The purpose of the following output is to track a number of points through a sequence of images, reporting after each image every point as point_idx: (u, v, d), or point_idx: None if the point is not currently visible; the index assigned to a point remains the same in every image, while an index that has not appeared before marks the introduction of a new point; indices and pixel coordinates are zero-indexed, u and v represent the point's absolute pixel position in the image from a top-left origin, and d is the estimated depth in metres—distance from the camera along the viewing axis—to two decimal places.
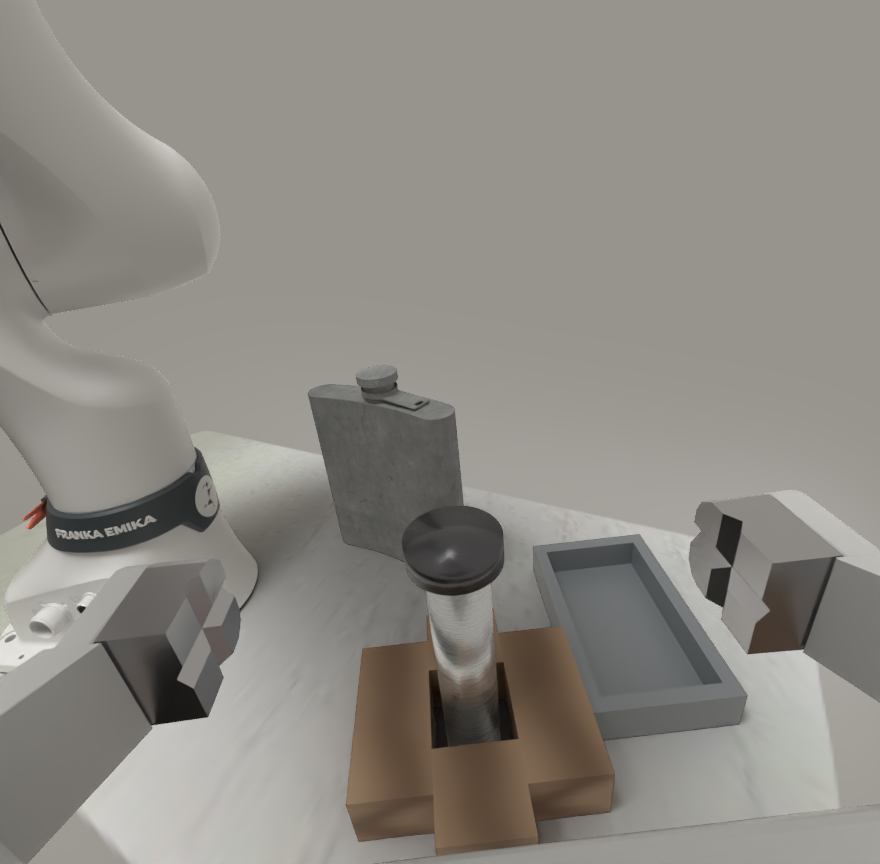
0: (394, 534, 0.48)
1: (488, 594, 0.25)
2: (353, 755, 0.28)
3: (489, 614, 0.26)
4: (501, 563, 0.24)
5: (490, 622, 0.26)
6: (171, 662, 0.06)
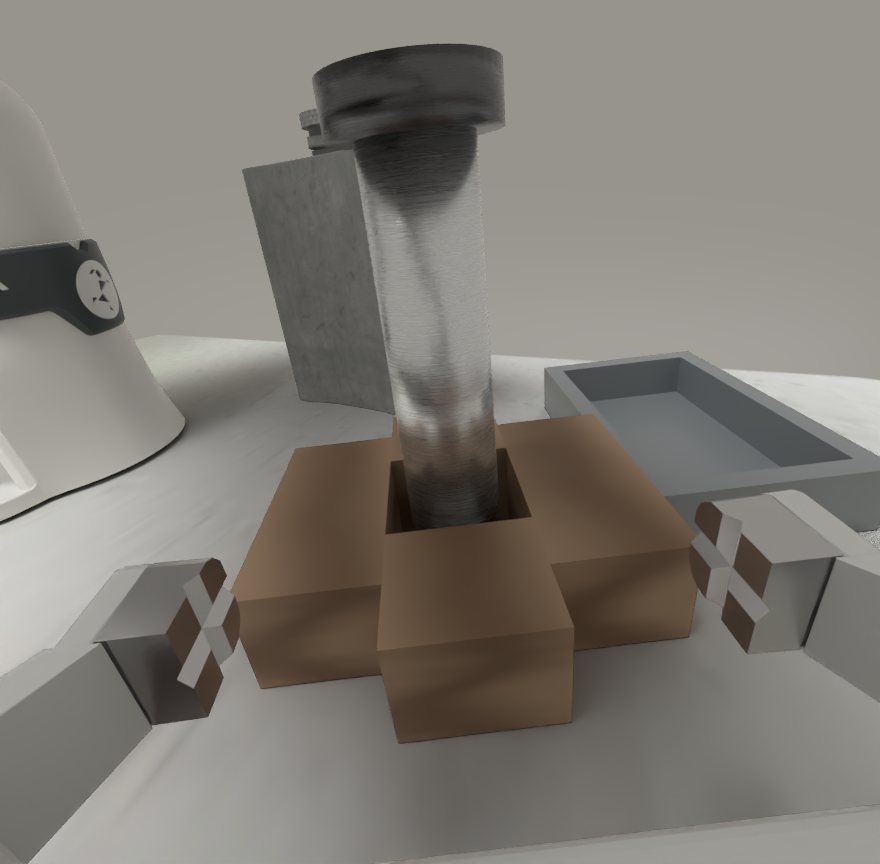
0: (360, 369, 0.36)
1: (477, 205, 0.14)
2: (254, 547, 0.17)
3: (479, 257, 0.14)
4: (500, 104, 0.13)
5: (481, 280, 0.15)
6: (172, 662, 0.06)
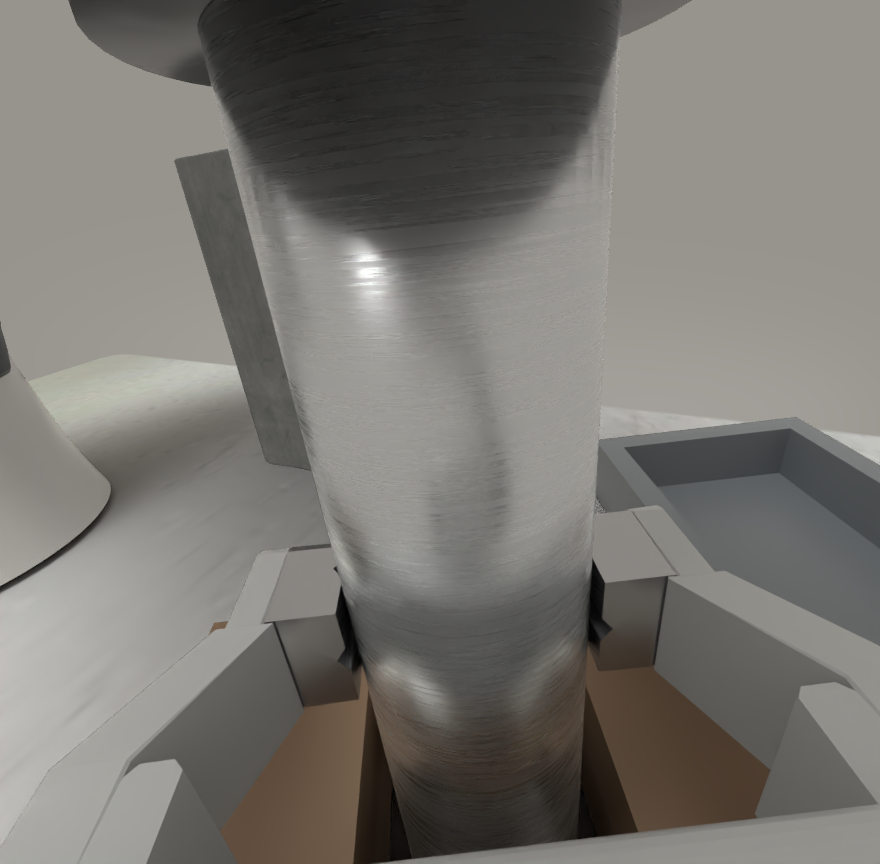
0: None
1: (606, 248, 0.04)
2: None
3: (598, 394, 0.05)
4: None
5: (596, 447, 0.05)
6: (336, 643, 0.06)
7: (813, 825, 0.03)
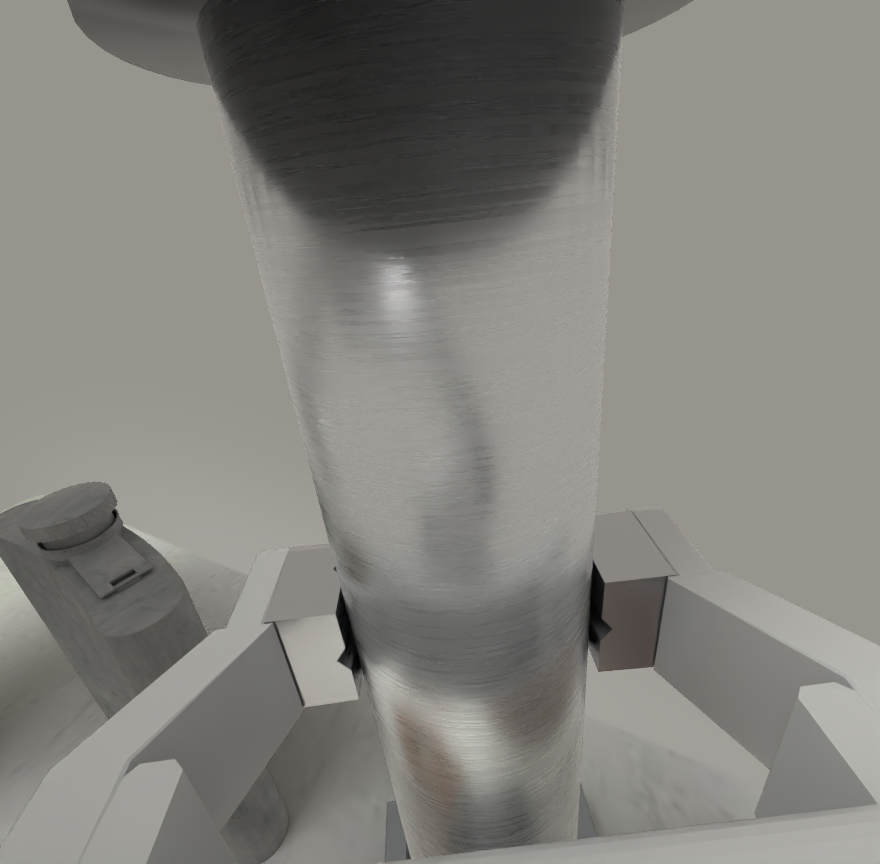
0: None
1: (608, 249, 0.04)
2: None
3: (599, 395, 0.05)
4: None
5: (597, 449, 0.05)
6: (336, 642, 0.06)
7: (813, 825, 0.03)
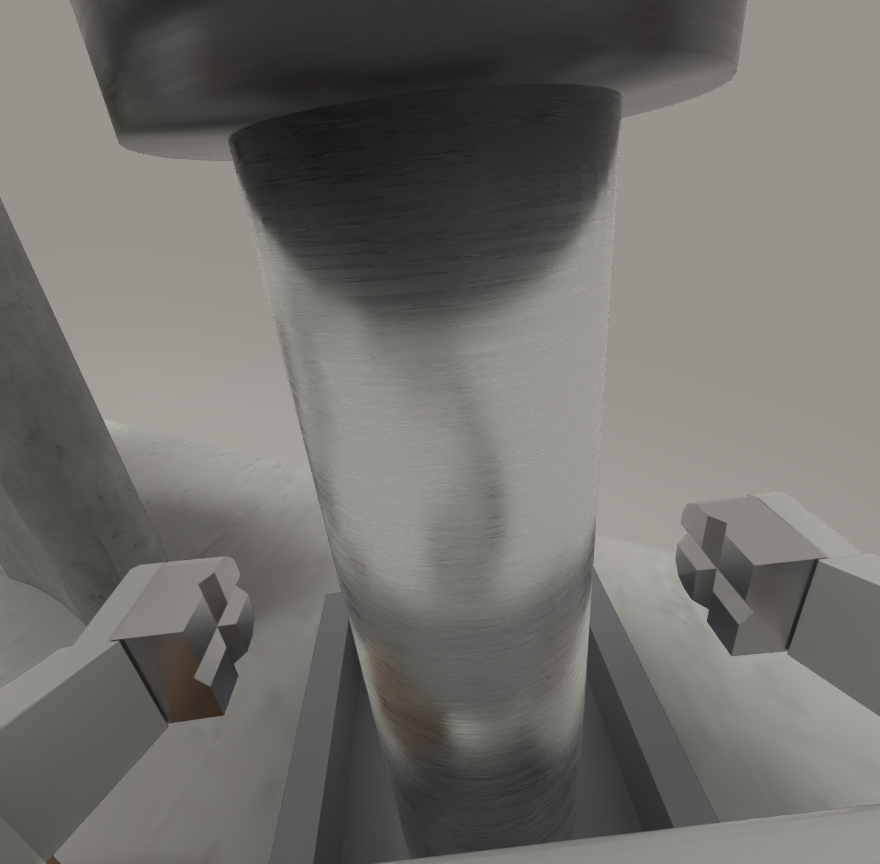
0: (42, 561, 0.21)
1: (605, 331, 0.05)
2: None
3: (596, 459, 0.05)
4: None
5: (594, 505, 0.06)
6: (189, 659, 0.06)
7: (813, 825, 0.03)
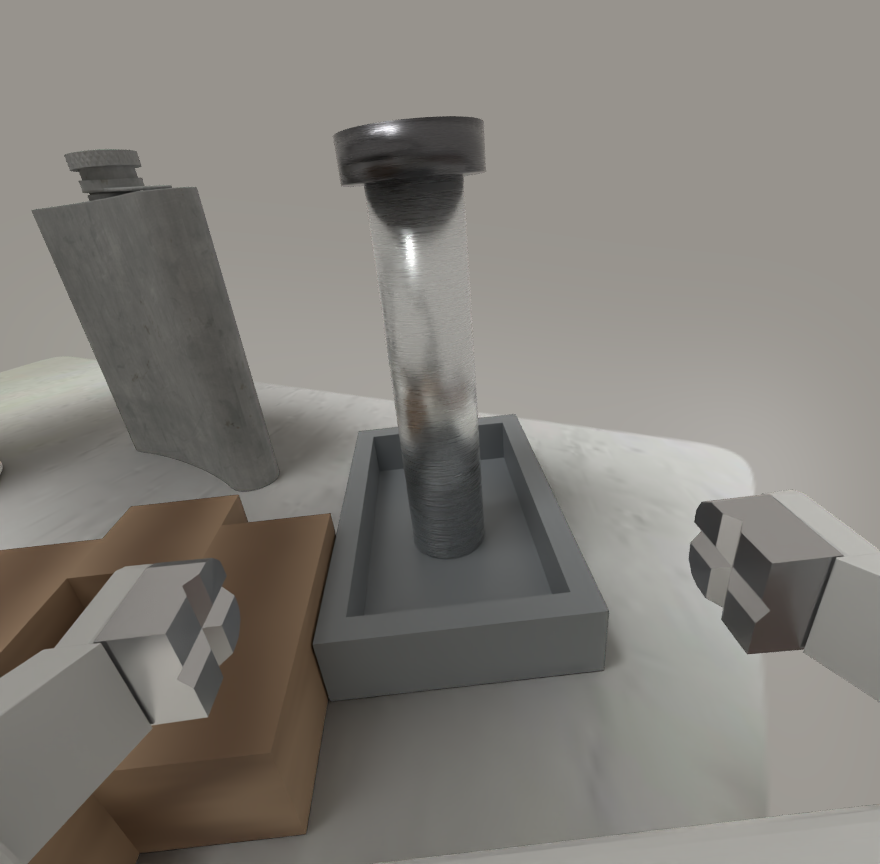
0: (177, 425, 0.33)
1: (462, 234, 0.17)
2: None
3: (464, 275, 0.18)
4: (480, 157, 0.16)
5: (466, 293, 0.18)
6: (172, 662, 0.06)
7: (813, 825, 0.03)
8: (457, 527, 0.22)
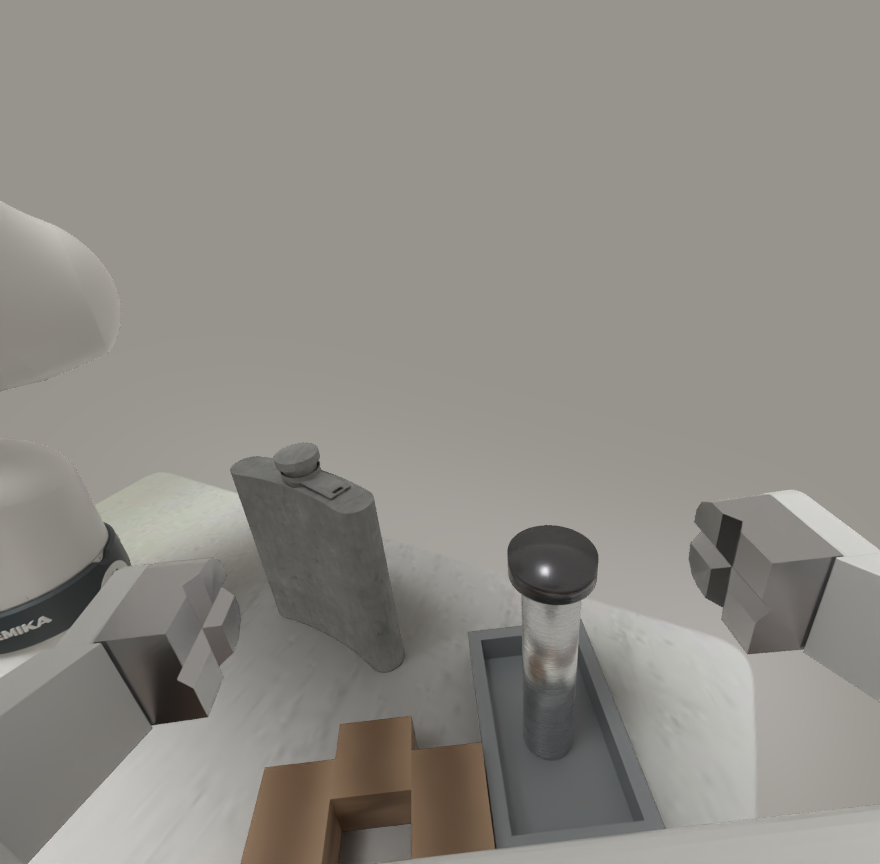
0: (325, 613, 0.45)
1: (580, 603, 0.29)
2: None
3: (579, 621, 0.29)
4: (596, 577, 0.28)
5: None
6: (171, 661, 0.06)
7: (813, 825, 0.03)
8: (560, 744, 0.34)
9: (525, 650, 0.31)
